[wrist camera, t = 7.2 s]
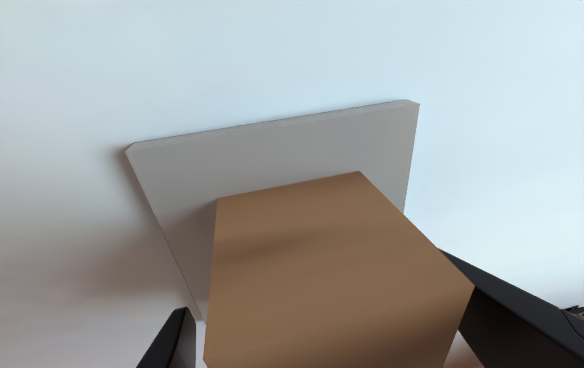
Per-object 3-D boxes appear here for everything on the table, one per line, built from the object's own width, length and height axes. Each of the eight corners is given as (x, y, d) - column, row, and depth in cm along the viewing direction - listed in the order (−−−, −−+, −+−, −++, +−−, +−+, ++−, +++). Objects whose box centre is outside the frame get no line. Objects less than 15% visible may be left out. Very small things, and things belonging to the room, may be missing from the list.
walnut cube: (355, 267, 13) (428, 400, 8) (246, 294, 12) (255, 457, 7) (359, 170, 10) (474, 285, 5) (217, 198, 9) (203, 359, 5)
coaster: (384, 275, 15) (392, 286, 14) (211, 319, 13) (210, 333, 13) (406, 99, 10) (419, 103, 9) (133, 142, 8) (124, 151, 8)
